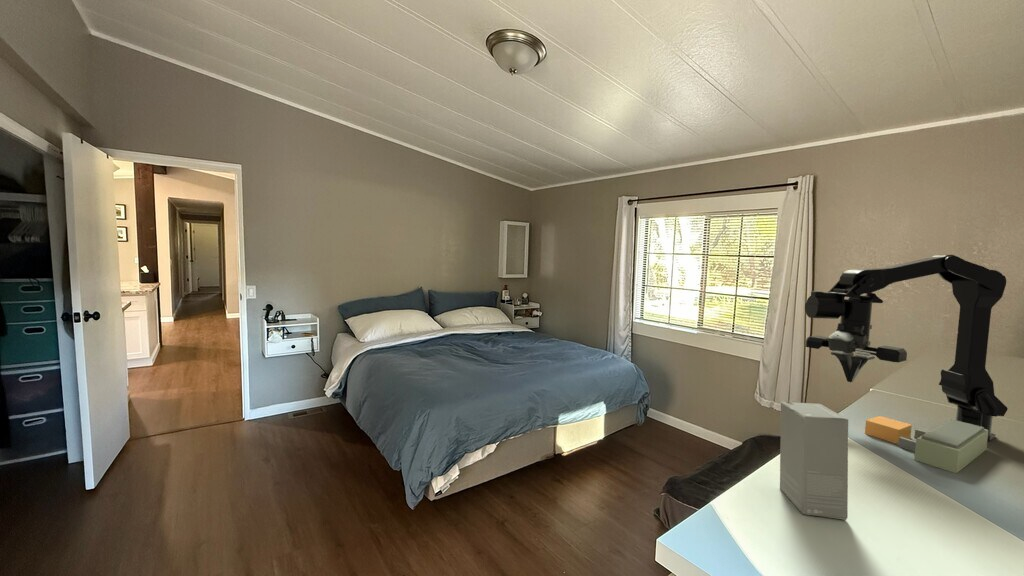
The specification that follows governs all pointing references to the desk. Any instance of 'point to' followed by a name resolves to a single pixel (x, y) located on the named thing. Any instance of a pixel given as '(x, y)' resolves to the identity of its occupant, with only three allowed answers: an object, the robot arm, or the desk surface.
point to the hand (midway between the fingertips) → (850, 381)
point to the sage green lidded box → (948, 445)
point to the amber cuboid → (887, 429)
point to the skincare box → (814, 459)
